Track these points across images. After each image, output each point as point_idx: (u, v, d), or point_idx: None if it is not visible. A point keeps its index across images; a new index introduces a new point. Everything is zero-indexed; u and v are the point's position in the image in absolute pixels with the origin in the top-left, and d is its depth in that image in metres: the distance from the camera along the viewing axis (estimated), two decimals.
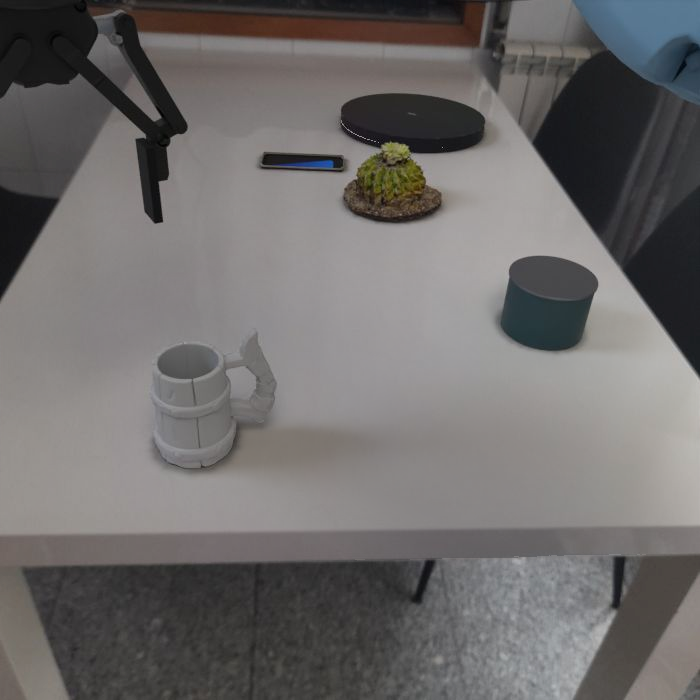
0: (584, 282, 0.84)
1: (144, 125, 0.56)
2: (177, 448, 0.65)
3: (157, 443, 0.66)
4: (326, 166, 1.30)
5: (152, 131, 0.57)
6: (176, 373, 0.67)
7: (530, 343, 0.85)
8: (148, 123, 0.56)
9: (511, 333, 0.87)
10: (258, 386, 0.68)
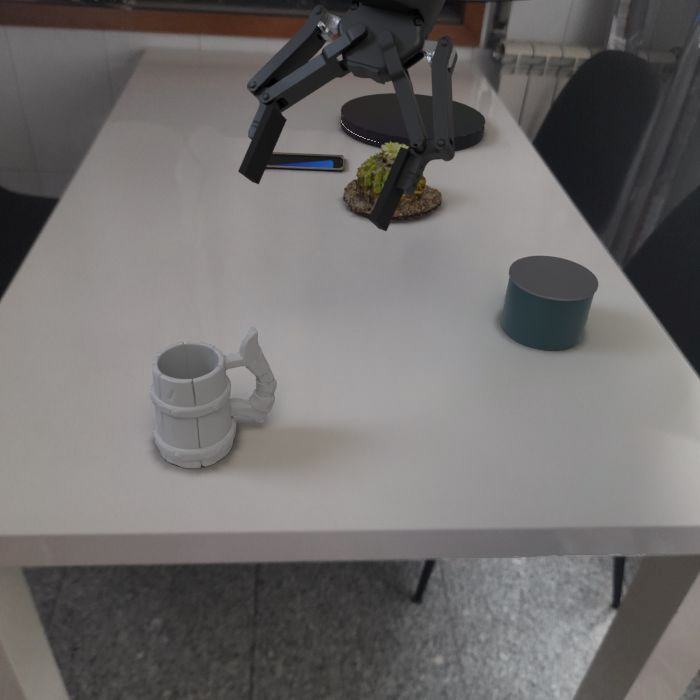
0: (584, 282, 0.84)
1: (411, 127, 0.59)
2: (177, 448, 0.65)
3: (157, 443, 0.66)
4: (326, 166, 1.30)
5: (415, 135, 0.59)
6: (176, 373, 0.67)
7: (530, 343, 0.85)
8: (416, 127, 0.59)
9: (511, 333, 0.87)
10: (258, 386, 0.68)
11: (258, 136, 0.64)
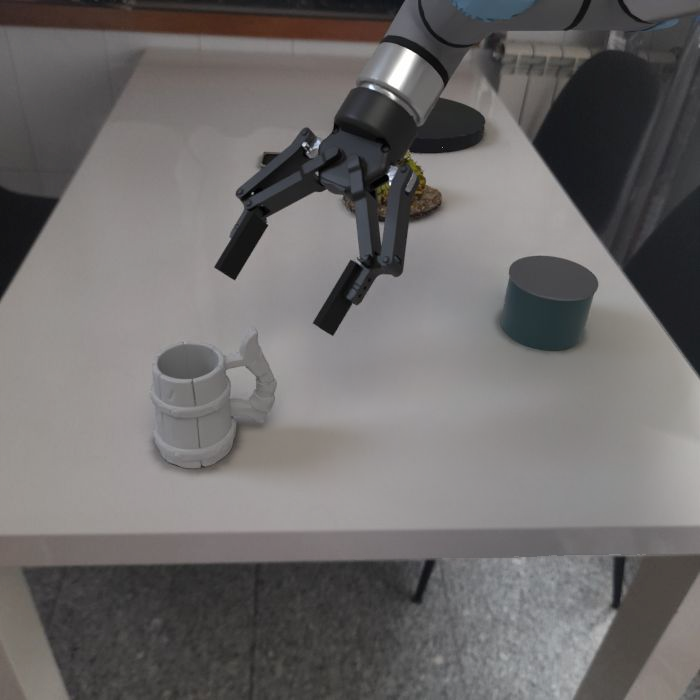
0: (584, 282, 0.84)
1: (363, 243, 0.63)
2: (177, 448, 0.65)
3: (157, 443, 0.66)
4: None
5: (365, 250, 0.63)
6: (176, 373, 0.67)
7: (530, 343, 0.85)
8: (367, 243, 0.63)
9: (511, 333, 0.87)
10: (258, 386, 0.68)
11: (236, 238, 0.70)
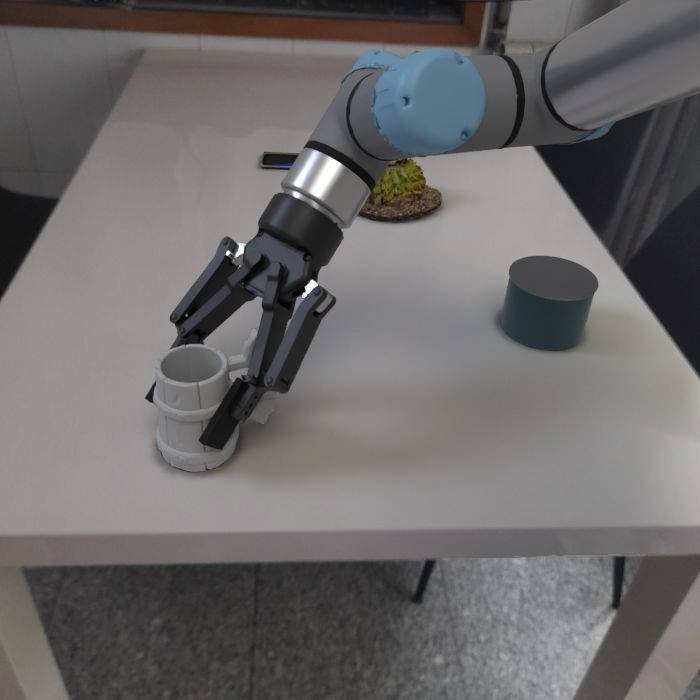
0: (584, 282, 0.84)
1: (255, 359, 0.63)
2: (181, 452, 0.65)
3: (160, 447, 0.66)
4: None
5: (253, 368, 0.63)
6: (178, 376, 0.67)
7: (530, 343, 0.85)
8: (258, 361, 0.63)
9: (511, 333, 0.87)
10: None
11: None
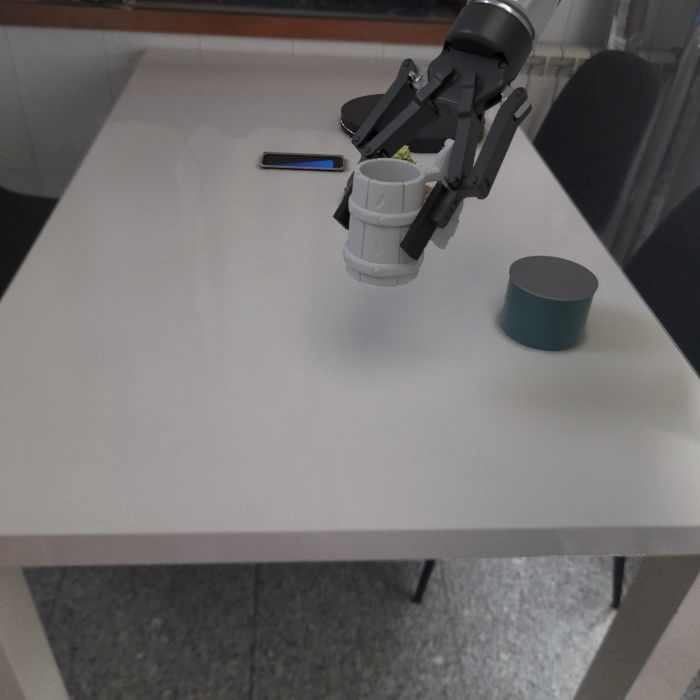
0: (584, 282, 0.84)
1: (455, 163, 0.63)
2: (376, 263, 0.65)
3: (352, 262, 0.66)
4: (326, 166, 1.30)
5: (454, 172, 0.62)
6: None
7: (530, 343, 0.85)
8: (458, 165, 0.63)
9: (511, 333, 0.87)
10: None
11: None
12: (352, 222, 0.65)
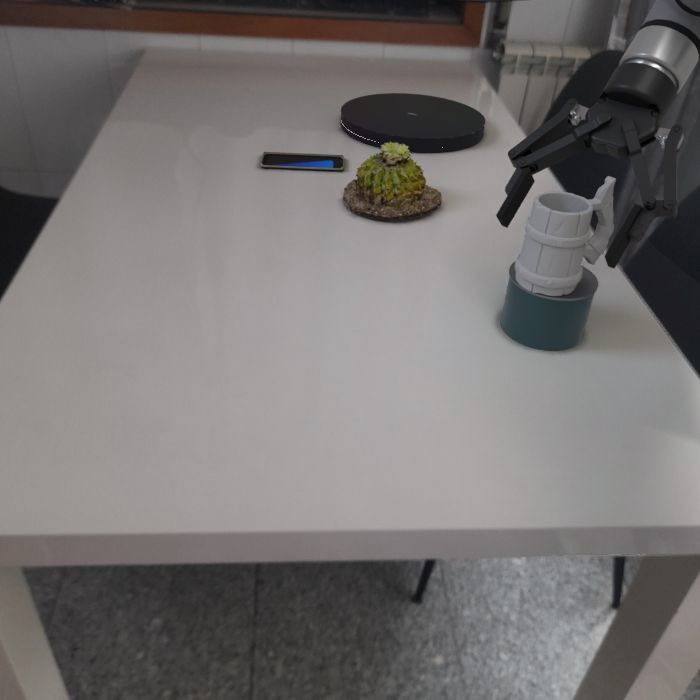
0: (584, 282, 0.84)
1: (645, 190, 0.76)
2: (549, 277, 0.80)
3: (527, 276, 0.81)
4: (326, 166, 1.30)
5: (647, 196, 0.76)
6: None
7: (530, 343, 0.85)
8: (648, 190, 0.76)
9: (511, 333, 0.87)
10: (601, 230, 0.82)
11: (514, 190, 0.83)
12: (529, 243, 0.80)
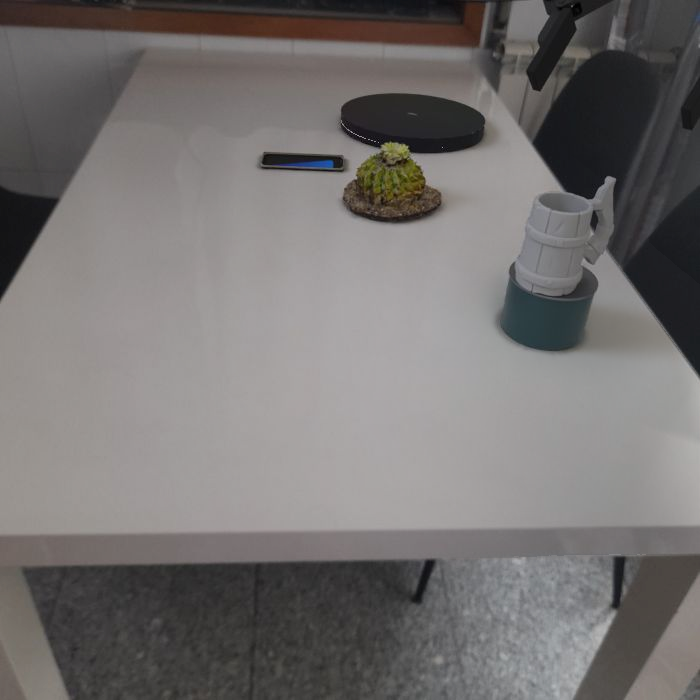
0: (584, 282, 0.84)
1: None
2: (549, 277, 0.80)
3: (527, 276, 0.81)
4: (326, 166, 1.30)
5: None
6: None
7: (530, 343, 0.85)
8: None
9: (511, 333, 0.87)
10: (601, 230, 0.82)
11: (551, 37, 0.62)
12: (529, 243, 0.80)
